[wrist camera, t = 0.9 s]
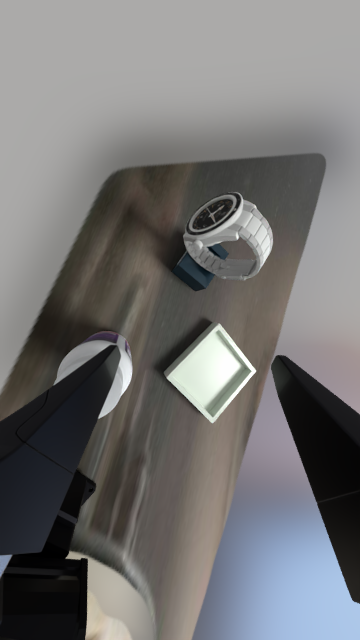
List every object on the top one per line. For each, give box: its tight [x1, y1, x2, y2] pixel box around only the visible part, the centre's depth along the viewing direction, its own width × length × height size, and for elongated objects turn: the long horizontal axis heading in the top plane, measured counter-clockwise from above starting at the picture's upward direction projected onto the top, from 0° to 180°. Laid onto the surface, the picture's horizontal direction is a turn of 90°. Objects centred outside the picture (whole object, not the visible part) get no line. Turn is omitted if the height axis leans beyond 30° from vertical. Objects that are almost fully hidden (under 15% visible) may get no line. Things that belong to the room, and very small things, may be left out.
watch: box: [171, 192, 273, 291], centre depth 17 cm, size 6×8×11 cm
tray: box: [163, 323, 256, 424], centre depth 23 cm, size 10×10×2 cm
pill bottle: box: [54, 331, 132, 419], centre depth 15 cm, size 5×5×10 cm
